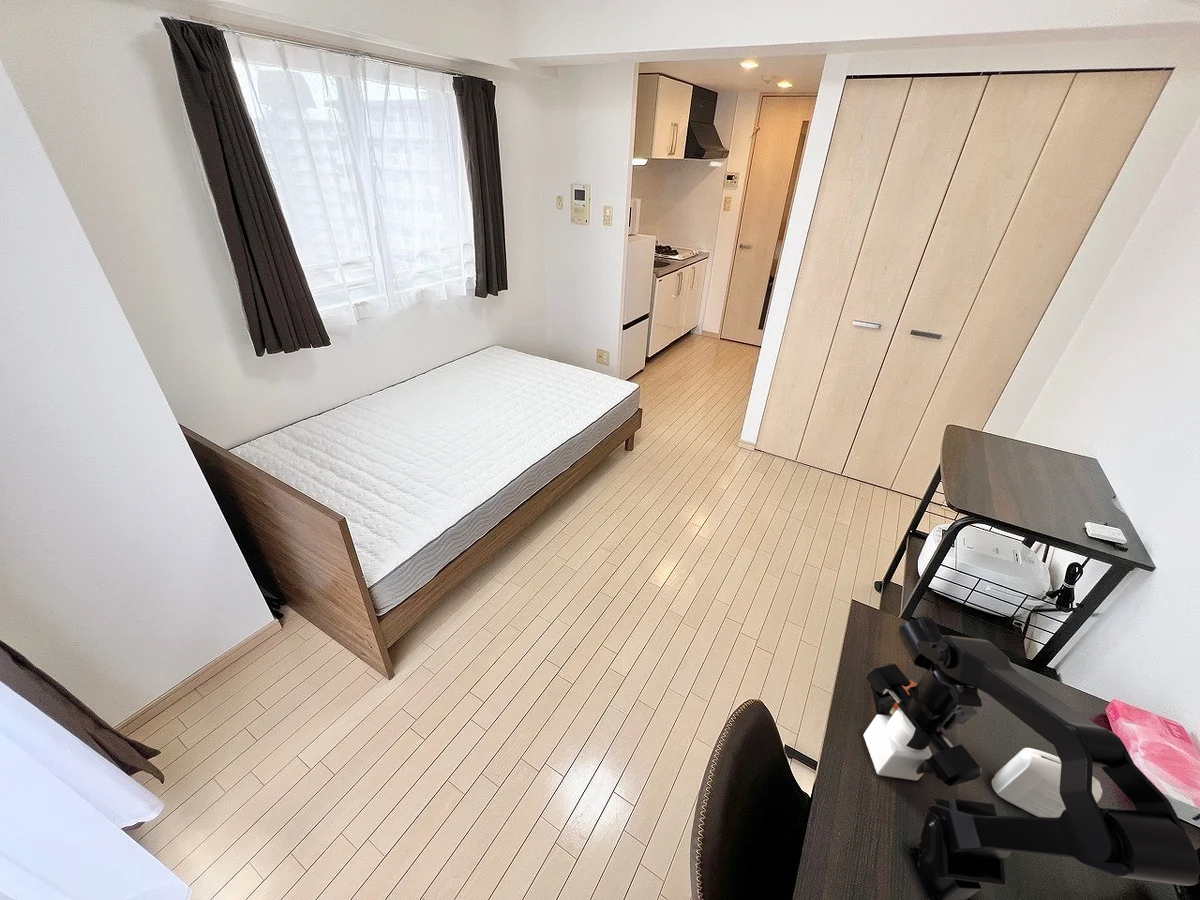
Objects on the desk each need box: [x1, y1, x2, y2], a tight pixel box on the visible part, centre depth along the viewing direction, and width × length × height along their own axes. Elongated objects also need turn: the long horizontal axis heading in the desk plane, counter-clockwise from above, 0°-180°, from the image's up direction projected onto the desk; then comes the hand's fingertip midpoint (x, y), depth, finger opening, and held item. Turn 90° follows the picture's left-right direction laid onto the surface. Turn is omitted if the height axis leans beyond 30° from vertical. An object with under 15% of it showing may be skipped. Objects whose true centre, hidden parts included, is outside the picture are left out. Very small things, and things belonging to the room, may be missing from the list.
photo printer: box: [991, 747, 1103, 818], centre depth 79 cm, size 10×4×12 cm, turn 60°
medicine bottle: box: [863, 708, 933, 781], centre depth 84 cm, size 7×7×12 cm
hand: (898, 744), depth 85 cm, fingers open, 9 cm apart
